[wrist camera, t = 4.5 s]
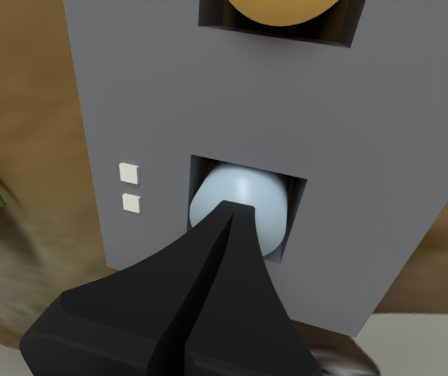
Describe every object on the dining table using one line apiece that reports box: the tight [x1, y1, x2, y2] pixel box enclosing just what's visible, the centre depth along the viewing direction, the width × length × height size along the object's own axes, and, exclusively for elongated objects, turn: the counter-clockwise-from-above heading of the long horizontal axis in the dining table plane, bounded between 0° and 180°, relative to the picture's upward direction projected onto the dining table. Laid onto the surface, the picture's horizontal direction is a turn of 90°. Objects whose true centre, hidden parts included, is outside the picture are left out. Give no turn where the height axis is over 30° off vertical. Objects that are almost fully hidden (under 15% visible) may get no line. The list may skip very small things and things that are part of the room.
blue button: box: [190, 160, 289, 256], centre depth 12 cm, size 4×4×3 cm
